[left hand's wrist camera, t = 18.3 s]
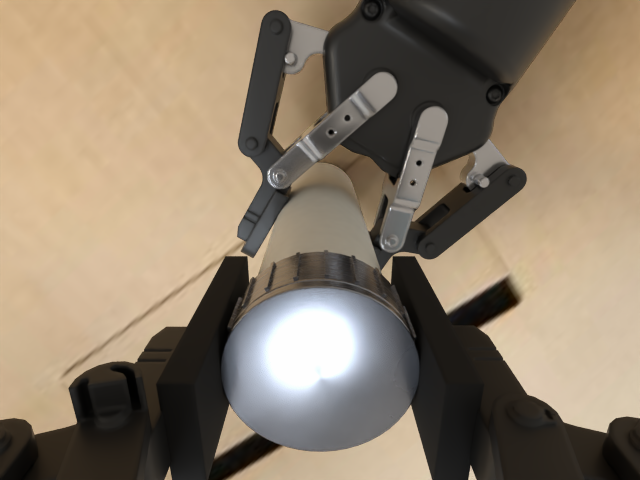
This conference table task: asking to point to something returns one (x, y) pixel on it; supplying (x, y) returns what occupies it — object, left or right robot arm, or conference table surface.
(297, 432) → the lid
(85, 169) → the conference table surface
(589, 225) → the conference table surface
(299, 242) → the white cylindrical bottle
